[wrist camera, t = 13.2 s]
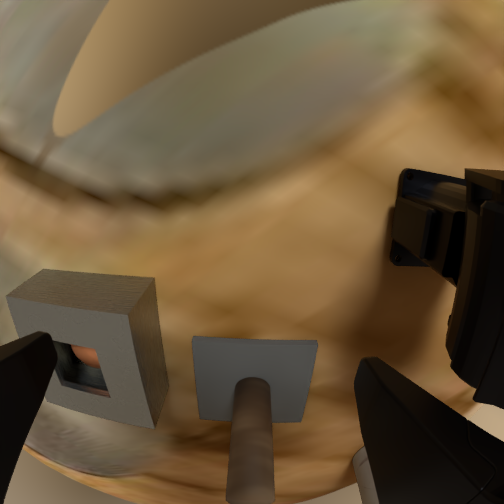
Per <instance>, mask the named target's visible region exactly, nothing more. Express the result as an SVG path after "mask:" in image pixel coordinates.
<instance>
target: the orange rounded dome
mask: <svg viewBox="0 0 504 504" xmlns="http://www.w3.org/2000/svg"><path fill="white" fill-rule="evenodd" d="M71 347H72V350H73V351H74V353H75V355H76V356H77V357H78V358H79V359H80V360H81V361H82V362H83V363H85V364H87V365H88V366H91V367H94V368H101V367H100V364H99V361H98V357H97V354H96V351H95V349H92V348H87V347H82V346H77V345H72V344H71Z"/></svg>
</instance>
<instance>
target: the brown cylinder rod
mask: <svg viewBox="0 0 504 504" xmlns="http://www.w3.org/2000/svg"><path fill="white" fill-rule="evenodd" d="M226 501H227V502H228V503H230V504H272V503H273V502H274V501H275V488H274V461H273V436H272V413H271V391H270V385H269V384H268V382H266V381H265V380H263V379H261V378H257V377H247V378H244V379H242V380H240V381H239V382H237V384H236V386H235V393H234V404H233V416H232V428H231V440H230V452H229V464H228V476H227V488H226Z"/></svg>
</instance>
